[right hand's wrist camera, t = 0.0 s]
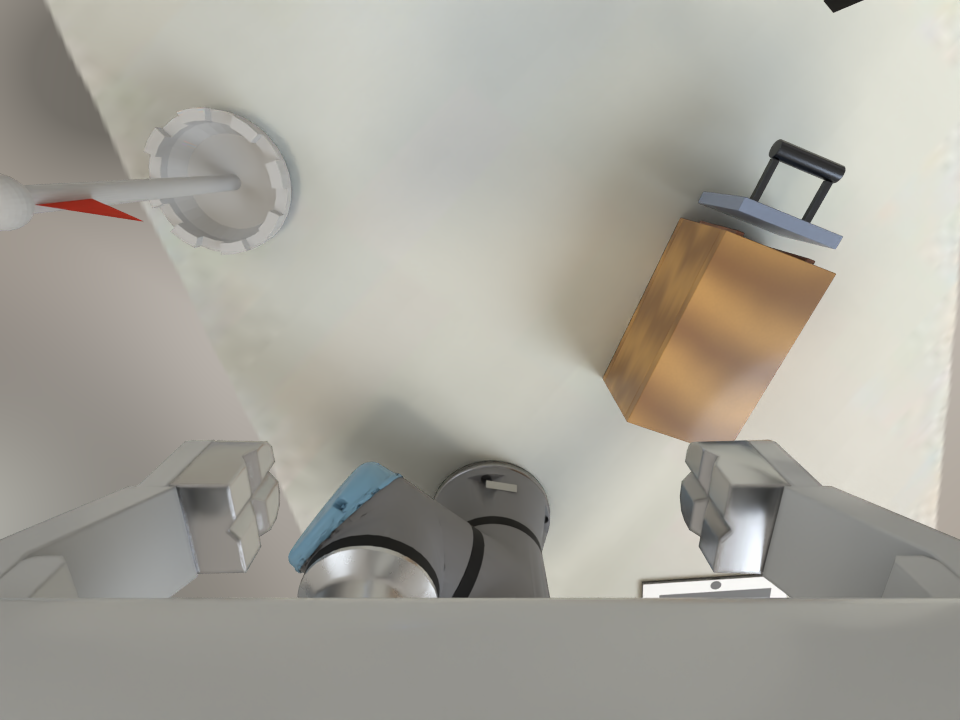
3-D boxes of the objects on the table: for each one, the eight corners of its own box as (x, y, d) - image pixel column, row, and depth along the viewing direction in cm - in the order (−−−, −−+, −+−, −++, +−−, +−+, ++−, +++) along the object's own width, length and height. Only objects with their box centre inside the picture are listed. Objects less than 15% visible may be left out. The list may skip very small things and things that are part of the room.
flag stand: (170, 228, 55) (-150, 297, 27) (176, 96, 51) (-199, 15, 23) (292, 259, 56) (107, 356, 28) (309, 133, 52) (109, 99, 24)
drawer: (730, 135, 51) (780, 130, 43) (817, 171, 52) (881, 173, 44) (625, 350, 59) (649, 381, 51) (702, 377, 60) (738, 412, 52)
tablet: (763, 729, 83) (764, 731, 83) (636, 736, 84) (636, 739, 83) (788, 572, 72) (790, 574, 71) (641, 582, 72) (642, 584, 72)
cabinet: (680, 217, 55) (726, 230, 45) (771, 253, 56) (836, 273, 46) (602, 378, 62) (626, 421, 51) (685, 407, 63) (725, 455, 53)
